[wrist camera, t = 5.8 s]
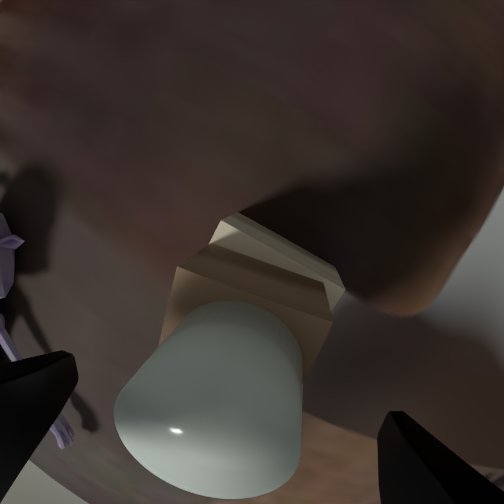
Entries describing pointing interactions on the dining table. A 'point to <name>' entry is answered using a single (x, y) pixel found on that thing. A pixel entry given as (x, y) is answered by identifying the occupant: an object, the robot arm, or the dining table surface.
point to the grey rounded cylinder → (218, 403)
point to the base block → (276, 252)
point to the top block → (252, 295)
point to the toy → (3, 264)
